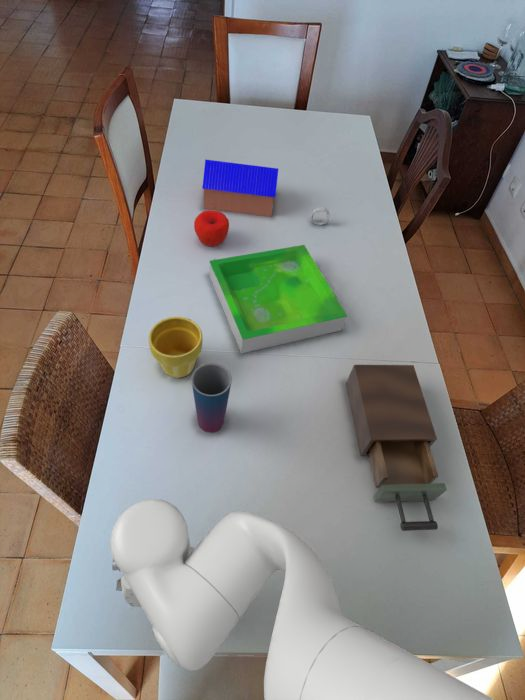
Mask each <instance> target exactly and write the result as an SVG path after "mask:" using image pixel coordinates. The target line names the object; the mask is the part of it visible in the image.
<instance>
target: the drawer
mask: <svg viewBox="0 0 525 700" xmlns="http://www.w3.org/2000/svg"><path fill="white" fill-rule="evenodd" d="M368 452H369V456H368V457H369V461H370V465H371V469H372V474H373V479H374V485H375V487H376V488H378V489H377V491H376V492H375V493H374V494H373V500H374V502H375V503H380V502H381V503H383V502H387V503H388V502H396V505H397V509H398V510H397V511H398V514H399V518H400V521H401V522H400V525H399V526H400V530H401V531H402V532H408V531H409V532H412V531H415V532H416V531H437V530H438V527H439V526H438V522H437V521H436V520H434V516H433V511H432V508H431V504H430V502H429V501H436V500H437V499H438V498H439V497H440V496H442V495H443V494H444V493H445V492H447V491H448V488H447V486H446V485H447V484H446V483H445V482H444V483H443V482H442V483H441V482H440V483H433V482H434V481H436V479H437V478H438V477H439V473H438V470H437V466H436V463H435V461H434V456H433V454H432V450H431V446H430V447H429V444H428V441H375V442H373V444H372V445H371V447H370V448H369V450H368ZM411 501H412V502H416V501H417V502H419V501H420V502H421V501H423V503H424V506H425V510H426V514H427V517H428V520H423V521H422V520H421V521H417V520H416V521H406V516H405V512H404V509H403V505H402V502H411Z"/></svg>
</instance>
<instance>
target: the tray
mask: <svg viewBox="0 0 525 700" xmlns="http://www.w3.org/2000/svg"><path fill="white" fill-rule="evenodd" d="M310 253H311V252H309V251H308V248H307V247H306V245H305V244H301V245H294V246H289V247H283V248H277V249H271V250H265V251H259V252H253V253H247V254H241V255H235V256H228V257H223V258H217V259H210V260H209V278H210V280H211V281H210V282H211V284H212V285H213V288H214V290H215V293H216V295H217V298H218V300H219V302H220V305H221V308H222V310H223V312H224V315H225V318H226V320H227V322H228V325H229V327H230V329H231V333H232V334H233V337H234V339H235V342H236V345H237V347H238V349H239V352H240V354H246V353H250V352H254V351H260V350H263V349H267V348H272V347H276V346H280V345H284V344H285V345H286V344H289V343H293V342H297V341H302V340H306V339H310V338H314V337H319V336H323V335H328V334H333V333H336V332H340V331H341V332H342V331H343V329H344V327H345V324H346V321H347V318H348V315H347V313H346V311H345V310H344V307H343V306H342V305H341V303H340V302H339V300H338V298H337V297H336V295H335V293H334V292H333V290H332V288H331V286H330V285H329V282H327V280H326V279H325V278H326V277H324V275H323V273H322V271H321V270H320V268H319V267H318V265H317V263H316V261H315V259H314V258H313V257H312V255H311V254H310Z"/></svg>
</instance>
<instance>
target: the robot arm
mask: <svg viewBox="0 0 525 700" xmlns="http://www.w3.org/2000/svg"><path fill="white" fill-rule="evenodd" d="M109 545H110V548H109V549H110V553H111V556H112V564H111V567H112V571H118V572H120V573H121V575H120V578H119V579H117V580H116V588H115V591H118V592H122V593H121V594H122V596H123V597H122V598H123V600H124V601H125V603H126V604H127V605H129V606H130V607H132V608H133V607H135V608H142V610H143V612H144V613H145V615H146V617H147V619H148V620H149V622H150V625H151V626H152V633H153V637H154V638H155V640H156V643H157V644H158V645H159V647H160V649H161V650H162V651H163V653H164V654H165V655H166V657H167V658H168V659H170V660H171V662H172V663H173V664H174V665H176V666H178V667H181V668H183V669H185V670H187V671H191V672H195V671H198V670H200V669H203V668H204V667H205V666H206V665H207V664H208V663H209V662H210V660H212V658H213V657H214V656H215V654H216V653H217V652H218V651H219V649H220V648H221V646H222V645H223V643H224V642H225V641H226V640H227V638H228V637H229V635H230V634H231V632H232V631H233V630H234V628H235V627H236V626H237V624H238V622H239V621H240V620H241V619H242V617H243V616H244V615H245V613H246V611H247V610H248V608H249V607H250V606H251V604H252V603H253V602H254V601H255V599H256V598H257V596H258V595H259V594H260V593H261V591H262V590H263V588H264V587H265V586H266V584H267V583H268V582H269V580H270V579H271V577H272V576H273V574H274V573H275V572H276V571H282V572H285V575H284V582H283V587H282V591H281V595H280V600H279V604H278V608H277V612H276V616H275V620H274V624H273V629H272V632H271V633H272V634H271V637H270V642H269V647H268V652H267V657H266V662H265V669H264V676H263V699H264V700H495V699H494V698H493V697H491V696H489V695H487V694H485V693H484V692H482V691H480V690H479V689H476V688H475V687H473V686H471V685H469V684H467V683H465V682H464V681H462V680H460V679H458V678H456V677H455V676H453V675H451V674H449V673H447V672H446V671H444V670H442V669H440V668H438V667H437V666H436V665H433V664H432V663H429V662H428V661H426V660H424V659H422V658H421V657H418V656H416V655H415V654H413V653H411V652H409V651H408V650H405V649H404V648H402V647H401V646H398V645H396V644H395V643H393V642H391V641H389V640H388V639H386V638H383V637H382V636H380V635H378V634H376V633H374V632H372V631H371V630H369V629H368V628H366V627H364V626H362V625H361V624H358V623H356V622H355V621H352V620H350V619H349V618H347V617H345V616H343V615H342V611H341V607H340V606H341V605H340V603H339V599H338V595H337V592H336V589H335V587H334V583H333V580H332V578H331V576H330V573H329V571H328V570H327V568H326V566H325V564H324V563H323V561H322V560H321V559H320V557H319V556H318V554H317V553H316V552H315V551H314V550H313V548H312V547H311V546H310V545H308V543H307V542H306V541H305V540H304V539H303V538H301V537H300V536H299V535H298V534H296V533H295V532H294V531H292V530H291V529H289V528H287V527H286V526H285V525H283V524H280V523H278V522H276V521H273V520H271V519H268V518H266V517H263V516H261V515H259V514H255V513H254V512H249V511H245V510H236V511H231V512H229V513H227V514H225V515H224V516H223V517H222V518H221V519H219V520H218V522H217V523H216V524H215V525H214V526H213V527H212V528H211V529H210V530H209V531H208V533H207V534H206V535H205V536H204V537H203V538H202V539H201V541H200V542H199V543H198V544H197V546H196V547H193V546H191V542H190V535H189V527H188V524H187V521H186V519H185V516H184V515H183V513H182V512H181V510H180V509H179V508H177V506H176V505H174V504H173V503H171V502H169V501H167V500H164V499H162V498H161V499H160V498H146V499H142V500H139V501H137V502H134V503H132V504H131V505H130V506H128V507H127V508H125V510H124V511H122V513H120V515H119V516H118V517H117V519H116V521H115V523H114V525H113V527H112V530H111V533H110V540H109Z"/></svg>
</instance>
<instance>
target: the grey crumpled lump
mask: <svg viewBox="0 0 525 700" xmlns="http://www.w3.org/2000/svg"><path fill="white" fill-rule="evenodd" d="M318 212H319V213H320V212H325V213H326V218H325V219H324V220H321V221H317V220H315V219H314V214H315V213H318ZM310 219H311V223H313V224H314V225H316V226H323V225H326V224H327V223H329V221H330V212H329V210H328V208H326V207H318V208H315V209H312V211H311V214H310Z"/></svg>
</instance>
